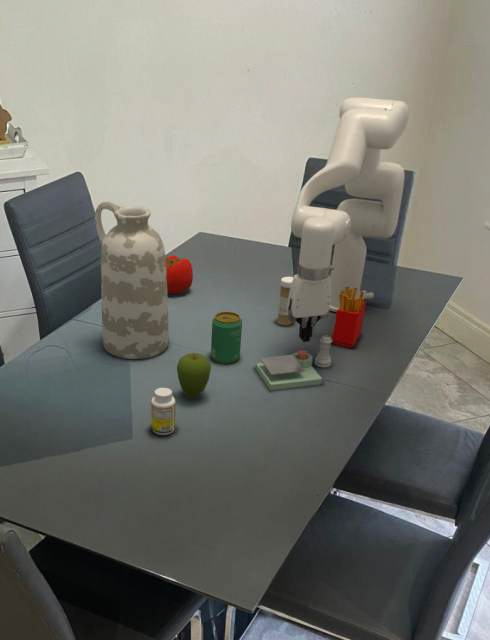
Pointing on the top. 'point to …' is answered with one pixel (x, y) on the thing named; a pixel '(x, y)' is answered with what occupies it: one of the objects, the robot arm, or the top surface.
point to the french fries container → (348, 318)
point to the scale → (291, 375)
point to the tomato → (178, 274)
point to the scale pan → (282, 365)
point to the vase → (133, 284)
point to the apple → (193, 373)
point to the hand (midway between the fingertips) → (304, 339)
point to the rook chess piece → (324, 353)
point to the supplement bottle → (163, 411)
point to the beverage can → (226, 337)
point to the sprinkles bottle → (284, 301)
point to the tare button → (302, 354)
